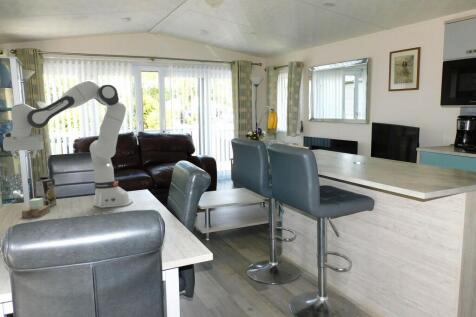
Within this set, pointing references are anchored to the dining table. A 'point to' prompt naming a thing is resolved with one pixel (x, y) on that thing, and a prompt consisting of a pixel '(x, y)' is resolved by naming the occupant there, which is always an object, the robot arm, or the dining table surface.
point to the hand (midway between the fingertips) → (24, 158)
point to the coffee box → (46, 191)
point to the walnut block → (35, 212)
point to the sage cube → (36, 203)
